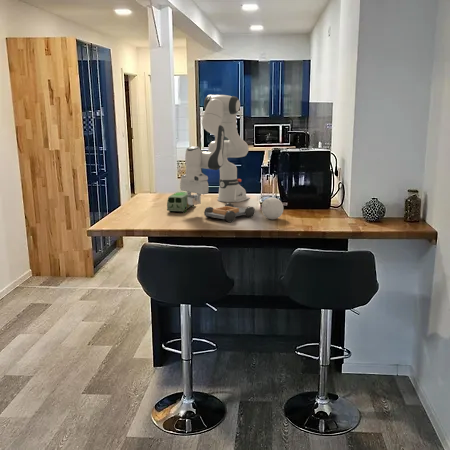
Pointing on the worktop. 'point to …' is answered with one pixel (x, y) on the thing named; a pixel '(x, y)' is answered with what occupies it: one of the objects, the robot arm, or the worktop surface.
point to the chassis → (229, 212)
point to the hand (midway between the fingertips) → (194, 200)
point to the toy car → (178, 202)
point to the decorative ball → (272, 208)
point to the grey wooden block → (193, 200)
